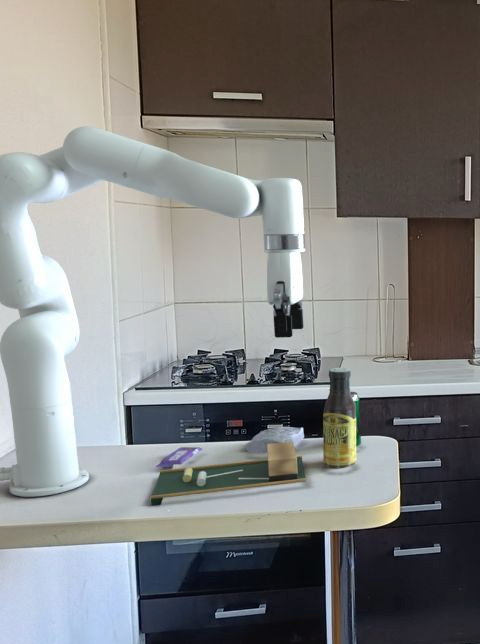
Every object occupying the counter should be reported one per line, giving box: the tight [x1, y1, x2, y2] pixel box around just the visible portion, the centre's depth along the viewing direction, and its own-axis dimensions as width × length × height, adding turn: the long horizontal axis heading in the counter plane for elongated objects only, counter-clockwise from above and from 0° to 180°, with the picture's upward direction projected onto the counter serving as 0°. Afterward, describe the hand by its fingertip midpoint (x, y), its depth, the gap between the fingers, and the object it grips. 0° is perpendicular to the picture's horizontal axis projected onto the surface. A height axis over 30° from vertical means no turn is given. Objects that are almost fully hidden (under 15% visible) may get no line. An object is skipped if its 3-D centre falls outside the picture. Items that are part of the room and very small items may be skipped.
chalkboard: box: [149, 455, 308, 506], centre depth 139 cm, size 26×14×2 cm, turn 108°
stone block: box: [245, 426, 305, 454], centre depth 158 cm, size 12×5×10 cm
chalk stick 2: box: [197, 471, 207, 486], centre depth 136 cm, size 2×4×2 cm
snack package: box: [155, 446, 203, 469], centre depth 151 cm, size 12×2×5 cm
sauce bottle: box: [322, 367, 357, 469], centre depth 144 cm, size 6×6×20 cm
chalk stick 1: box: [183, 467, 193, 482], centre depth 138 cm, size 2×4×2 cm, turn 18°
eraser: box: [267, 442, 298, 482], centre depth 141 cm, size 5×10×4 cm, turn 18°
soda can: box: [350, 391, 362, 447], centre depth 157 cm, size 5×5×12 cm
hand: (289, 332), depth 145 cm, fingers open, 9 cm apart
